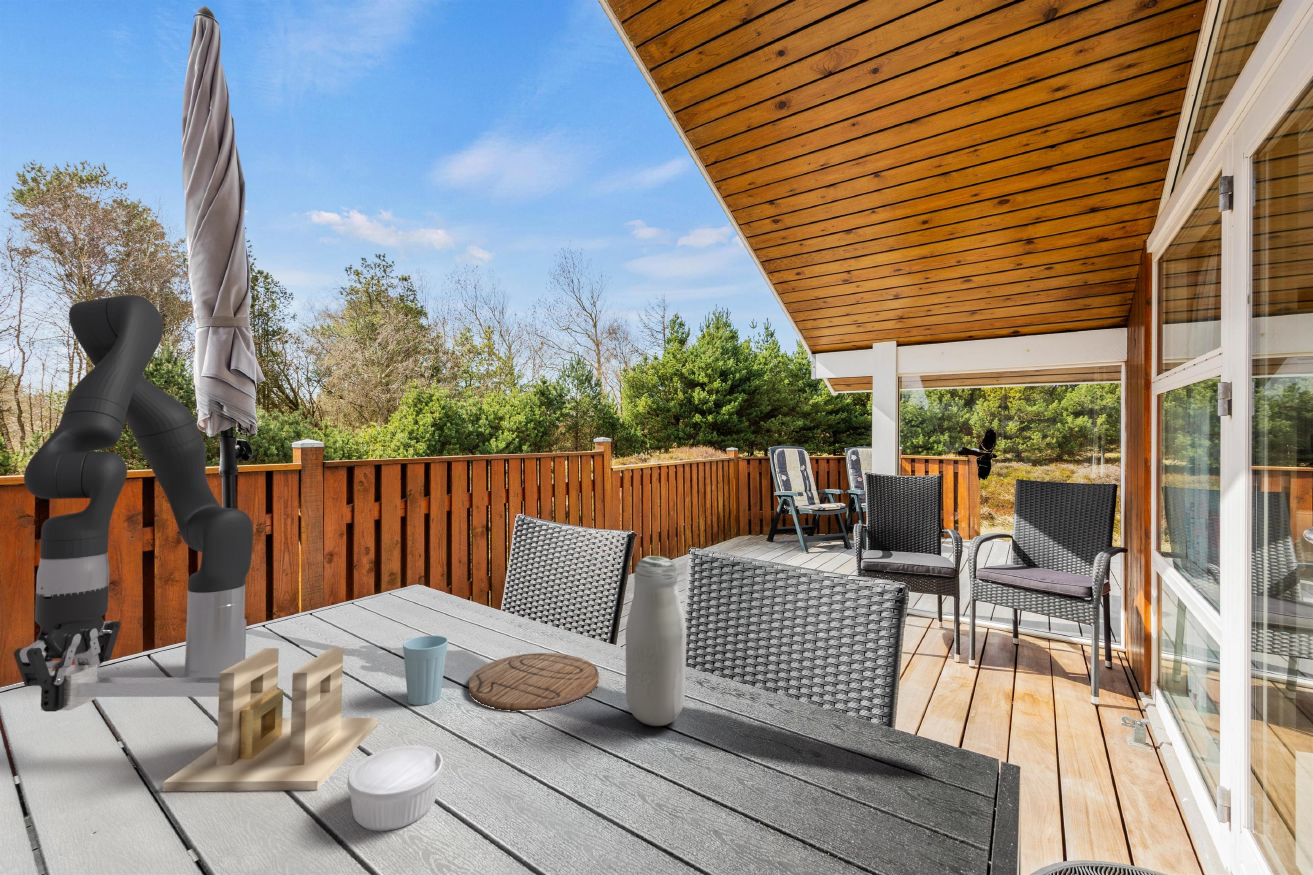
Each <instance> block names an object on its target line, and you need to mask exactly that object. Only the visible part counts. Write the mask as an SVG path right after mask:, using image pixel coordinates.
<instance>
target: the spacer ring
mask: <svg viewBox="0 0 1313 875" xmlns="http://www.w3.org/2000/svg"><path fill="white" fill-rule="evenodd" d="M283 703H284V688H282V689H281V688H277V689H272V690H271V691H269V692H268V693H266V694H265V695H263V696H262V697H260V698H259V699H257V700H256V701H254V702H253V703H251V704H250V705H248V706H247V707H245V708H244V709H242V718H241V748H240V759H253V758H254V757H255V756H256V755H258V754H259V753H260V752H261V751H263V750H264V749H265V748H266V747H267V746H269V745H270V744H271V743H272V742H274V741H275V740H276V739H277V738H279V737H280V736H281V735H282V718H283V712H284V710H283V709H284V708H283V707H284V704H283ZM264 714H265V718H264V729H263V730H262V731H261V716H263V715H264Z"/></svg>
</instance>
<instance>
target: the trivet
mask: <svg viewBox="0 0 1313 875" xmlns="http://www.w3.org/2000/svg"><path fill="white" fill-rule="evenodd" d="M599 677H600V672H599V670H598V668H597V666H596V665H595V664H593V663H592V662H591V661H589V660H587V659H585V658H582V657H578V656H575V655H571V654H565V653H564V654H563V653H556V652H555V653H554V652H535V653H524V654H518V655H517V654H516V655H511V656H507V657H503V658H499V659H496V660H494V661H491V662H489V663H487V664H483V666H481V667H479V668H478V669H476V670H475V671H474V672H473V673H472V674H471V676H469V681H468V694H469V693H470V694H471V696H472V697H473V698H474V699H475V700H477V701H478V702H480V703H481V704H484V705H487V706H490V707H494V708H495V709H501V710H510V711H515V710H516V711H517V710H538V709H546V708H551V707H556V706H561V705H566V704H569V703H571V702H574V701H576V700H579V699H582V698H583V697H585V696H586V695H588V694H589V693H592V691H593V690H594V689H595V688H596V686H597V684H599V681H598V679H600V678H599ZM597 687H598V686H597ZM596 689H597V688H596ZM596 689H595V690H596ZM595 690H594V691H595ZM470 694H469V695H470ZM592 694H593V693H592ZM471 696H470V697H471ZM501 710H500V711H501Z"/></svg>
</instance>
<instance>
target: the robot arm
mask: <svg viewBox="0 0 1313 875" xmlns="http://www.w3.org/2000/svg"><path fill="white" fill-rule="evenodd" d="M68 319H69V325H70V328H71V330H72V332H73V334H74V336H75V337H76V338H75V339H76V340H77V341H78V343H79V345H80V346H81V348H82V349H83V351H84V353H85V354H86V356H87V357H88V359H89V360H90V362H91V364H93V366H94V367H93V368H92V369H91V370H90V371H89V372H88V373H87V374H86V375H84V376H83V378H81V379H80V380H79V381H78V383H77V384H75V386H74V387H73V389H72V391H71V393H70V394H69V395H68V398H67V400H66V403H65V407H64V408H63V412H62V415H61V418H60V421H59V424H58V426H57V428H55V430H54V431H53V432H52V434H51V435H50V436H49V437H48V438H47V440H46V441H45V442H44V443H43V444H42V445H41V446H40V448H38V449H37V451H36V452H35V453H34V454H33V455H32V456H31V458H30V460H29V461H28V463H27V465H26V467H25V470H24V474H23V480H24V481H23V482H24V485H25V487H26V490H27V491H28V492H29V493H30V494H31V495H33V496H35V497H36V498H38V499H45V500H61V499H62V500H63V499H64V500H66V499H70V500H71V499H73V500H74V499H90V500H89V503H88V505H87V506H86V507H85V508H84V509H83V510H81V511H77V512H73V513H67V514H61V515H57V516H53V517H50V518H47V519H45V521H44V522H43V524H42V526H41V532H40V554H39V557H40V558H39V564H38V567H37V574H36V584H35V585H36V589H35V590H36V591H35V609H34V610H35V612H34V622H36V623H37V624H38V625H39V627H40V630H39V633H38V635H37V637H36V641H35V642H33V643H31V644H30V645H28V646H27V647H18V648H16V649H15V650H14V652H13V656H14V660H15V662H16V664H17V667H18V670H19V673H20V677H21V679H22V682H23V683H24V686H25V687H34V686H35V687H40V690H41V691H40V692H41V693H40V709H41V708H42V709H43V710H44V712H46V713H47V712H51V713H52V712H58V711H61V710H60V709H62V708H63V704H64V683H62V682H63V680H64V677H65V673H66V670H67V668H68V667H70V666H71V665H73V661H74V665H98V666H97V670H99V668H100V667H101V665H102V664H104V663H105V662H108V661H110V660H111V658H112V654H113V652H114V651H113V650H114V648H115V644H116V642H117V639H118V636H119V632H120V628H121V625H122V624H121V623H122V622H121V621H119V620H117V621H116V620H113V621H112V620H104V619H103V616H104V615H106V613H107V612H108V611H109V591H110V590H109V589H110V562H109V555H108V552H109V533H110V532H109V531H110V523H111V519H112V516H113V512H114V509H115V505H116V504H117V501H118V499H119V497H120V495H121V492H122V490H123V487H124V485H125V483H126V480H127V476H128V466H127V464H126V462H125V460H124V459H123V458H122V456H120V455H119V454H117V453H115V452H111V451H100V450H104V449H108V448H111V447H113V446H115V445H117V443H118V442H119V441H120V439H121V436H122V434H123V429H124V425H125V421H126V423H127V425H128V427H129V429H130V431H131V434H132V435H133V437H134V440H135V441H136V443H137V445H138V447H139V448H140V451H141V452H142V454H143V456H144V458H145V460H146V461H147V463H148V465H149V467H150V468H151V470H152V472H153V474H154V477H155V478H156V480H157V483H158V484H159V485H160V487H161V489H162V490H163V493H164V494H165V496H166V499H167V501H168V503H169V506H170V508H171V512H172V514H173V516H174V517H173V518H174V520H175V524H176V525H177V528H178V531H179V534H180V536H181V538H182V541H183V542H184V543H185V544H186V546H188V547H189V548H190V549H191V550H193V551H196V552H200V553H201V560H200V567H199V569H198V571H196V572H194V573H192V574H191V575H190V576H189V577H188V580H187V597H186V598H187V601H186V602H187V603H186V605H187V607H186V627H185V628H186V632H185V657H184V658H185V659H184V660H185V661H184V678H194V677H220V672H222V671H224V670H226V669H228V668H230V667H232V666H234V665H235V664H237V663H239V662H241V661H243V660H245V659H246V645H247V644H246V643H247V642H246V641H247V639H246V638H247V619H246V618H245V610H246V609H245V606H246V602H245V601H246V580H247V577H248V576H247V575H248V573H249V572H250V569H251V565H252V559H253V558H252V555H253V546H254V545H253V544H254V526H253V525H254V524H253V522H252V519H251V517H250V516H249V515H248V513H246V512H245V511H243V510H240V509H237V508H231V507H223V506H221V505H220V503H219V501H218V500H217V498H216V497H215V494H214V493H213V491H212V489H211V487H210V485H209V483H208V479H207V475H206V472H207V471H206V467H207V466H206V464H207V463H206V462H207V458H206V457H207V452H206V451H207V450H206V445H205V441H204V438H203V436H202V434H201V431H200V429H199V426H198V424H197V423H196V421H195V419H194V416H193V415H192V412H190V410H189V409H188V408H187V407H186V406H185V405H184V404H183V403H181V402H180V401H179V400H177V398H175V397H173V396H172V395H170V394H169V393H167V392H165V391H164V390H163V389H161V388H160V387H158V386H156V385H155V384H154V383H153V382H151V381H150V380H148V379H147V378H146V377H145V376H144V375H143V374H144V372H145V371H146V369H147V367H148V365H149V363H150V361H151V360H152V358H153V356H154V354H155V352H156V351H157V349H158V347H159V345H160V343H161V340H162V337H163V335H164V322H163V317H162V315H161V314H160V311H159V310H158V308H157V307H156V306H155V304H154V303H153V302H151V301H150V300H149V299H147V298H146V297H144V296H141V295H137V294H136V295H135V294H124V295H116V296H115V295H114V296H109V297H102V298H96V299H91V300H84V301H80V302H77V303H74V304H73V305H72V306H71V307H70V309H69V312H68ZM102 646H103V647H104V648H103V650H102V652H101V649H102ZM53 659H54V660H53ZM56 659H57V660H58V661H56ZM53 669H54V670H53ZM53 671H55V673H54V676H51V673H52V672H53Z"/></svg>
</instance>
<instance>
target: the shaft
mask: <svg viewBox="0 0 1313 875" xmlns="http://www.w3.org/2000/svg"><path fill="white" fill-rule="evenodd" d="M97 666H98V665H75V664H71V666H70V667H68V668H67V670H66V673H65V677H64V680H63V682H62V683H64V704H63V708H62V709H60V710H59V711H72V710H74V709H76V708H79V707H81V706H83V705H85V704H87V703H89V702H91V701H93V700H96V699H97V698H112V697H113V698H127V697H128V698H130V697H131V698H133V697H134V698H135V697H136V698H137V697H138V698H139V697H140V698H145V697H147V698H149V697H150V698H153V697H154V698H155V697H156V698H160V697H161V698H163V697H165V698H168V697H169V698H170V697H171V698H173V697H175V698H177V697H178V698H179V697H180V698H187V697H188V698H191V697H193V698H194V697H195V698H196V697H197V698H200V697H208V698H211V697H213V698H214V697H217V698H219V679H220V677H194V678H185V677H98V669H97ZM54 673H55V670H52V673H51V676H54ZM40 711H44V710H43V709H42V708H41V707H40ZM44 712H45V711H44Z"/></svg>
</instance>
